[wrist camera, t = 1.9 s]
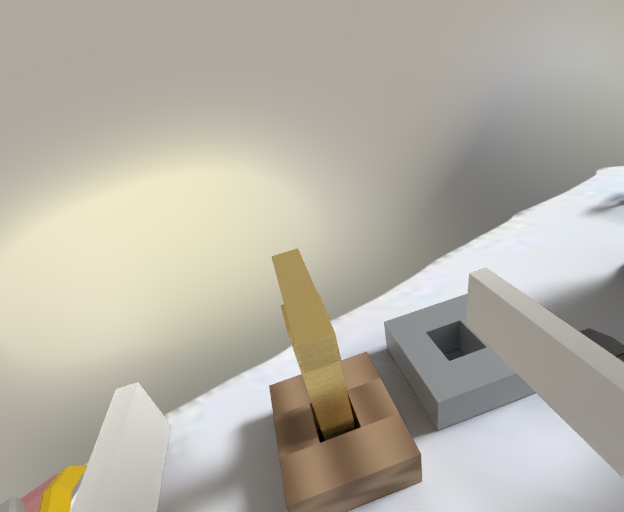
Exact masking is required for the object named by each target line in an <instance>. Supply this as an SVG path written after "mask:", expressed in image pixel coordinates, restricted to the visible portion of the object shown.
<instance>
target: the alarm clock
mask: <svg viewBox="0 0 624 512" xmlns="http://www.w3.org/2000/svg"><path fill="white" fill-rule="evenodd" d="M87 466H88V465H78V466H68V467H66V468H65V469H63V470H62V471H60V473H58V474H56V475H55V476H53V477H52V478H50V479H49V480H47V481H46V482H45V483H43V484H42V485H40V486H39V487H37V488H36V489H34V490H33V491H31V492H30V493H29V494H27V495H26V496H24V497H23V498H22V499H20V500H19V499H17V498H10V499H8V500H7V501H5V502H4V503H3V504H1V505H0V512H70V511H71V509H72V506H73V503H74V500H75V498H76V495H77V492H78V490H79V487H80V484H81V482H82V479H83V476H84V474H85V471H86V468H87Z"/></svg>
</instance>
